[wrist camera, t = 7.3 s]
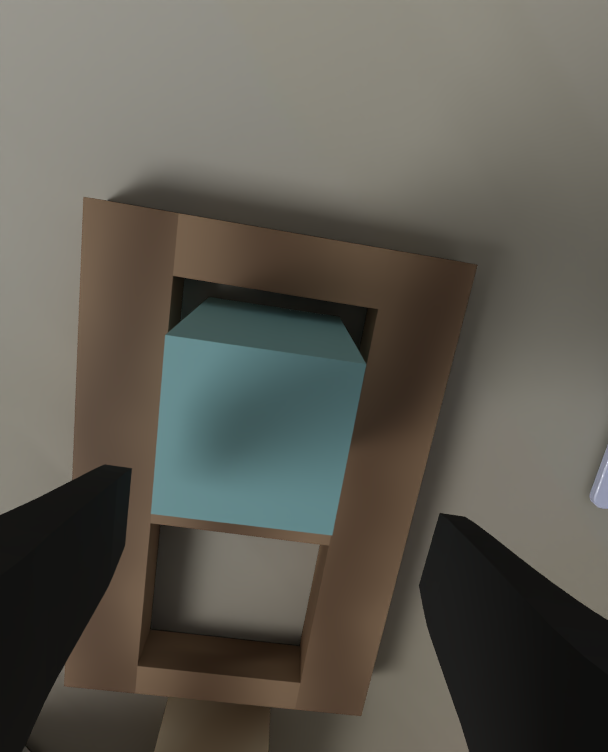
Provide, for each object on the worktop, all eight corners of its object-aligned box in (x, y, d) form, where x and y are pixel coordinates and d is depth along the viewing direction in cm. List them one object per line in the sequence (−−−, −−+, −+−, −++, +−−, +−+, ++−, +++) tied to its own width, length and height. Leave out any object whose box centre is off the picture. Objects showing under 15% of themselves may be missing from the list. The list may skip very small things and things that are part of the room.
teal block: (339, 316, 19) (366, 364, 12) (318, 435, 21) (332, 535, 14) (209, 296, 19) (165, 334, 12) (196, 419, 20) (151, 513, 13)
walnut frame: (458, 261, 19) (477, 265, 17) (355, 677, 24) (361, 716, 22) (105, 200, 18) (83, 197, 16) (82, 648, 23) (64, 686, 21)
